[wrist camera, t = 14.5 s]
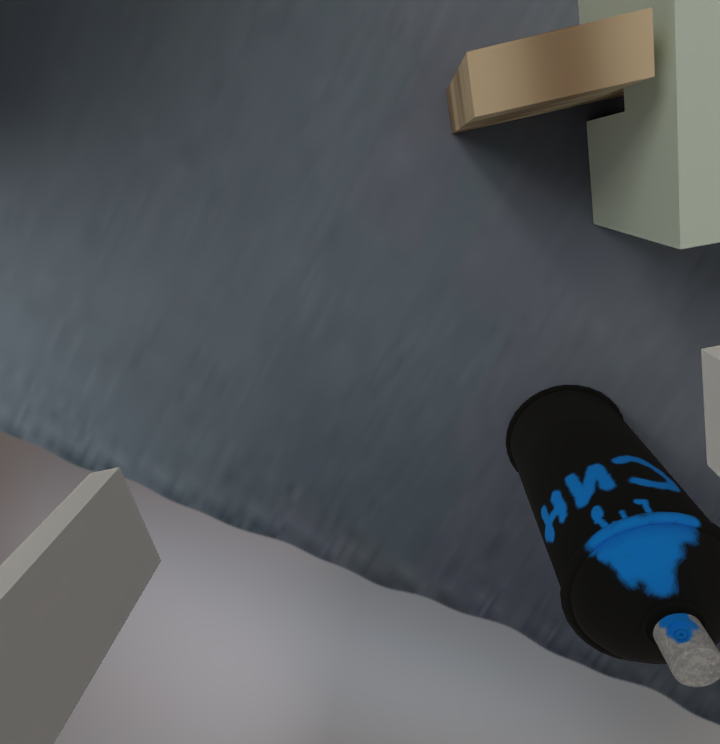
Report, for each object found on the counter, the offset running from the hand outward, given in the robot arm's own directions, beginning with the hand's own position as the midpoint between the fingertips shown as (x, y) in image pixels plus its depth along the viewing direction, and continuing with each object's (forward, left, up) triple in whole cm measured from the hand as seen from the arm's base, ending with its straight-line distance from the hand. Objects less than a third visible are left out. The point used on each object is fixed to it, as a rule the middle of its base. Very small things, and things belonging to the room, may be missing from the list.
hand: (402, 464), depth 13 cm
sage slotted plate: (+3, +15, -26) cm, 31 cm away
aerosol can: (+16, -3, -27) cm, 31 cm away
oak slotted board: (+3, +16, -26) cm, 31 cm away
